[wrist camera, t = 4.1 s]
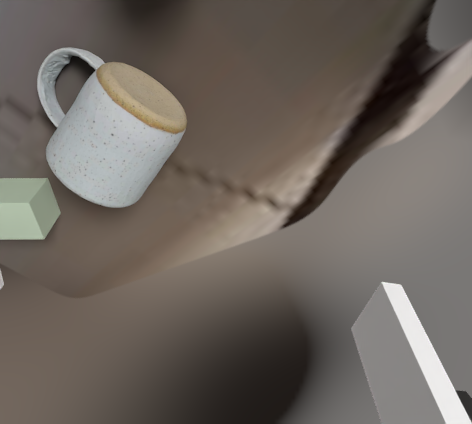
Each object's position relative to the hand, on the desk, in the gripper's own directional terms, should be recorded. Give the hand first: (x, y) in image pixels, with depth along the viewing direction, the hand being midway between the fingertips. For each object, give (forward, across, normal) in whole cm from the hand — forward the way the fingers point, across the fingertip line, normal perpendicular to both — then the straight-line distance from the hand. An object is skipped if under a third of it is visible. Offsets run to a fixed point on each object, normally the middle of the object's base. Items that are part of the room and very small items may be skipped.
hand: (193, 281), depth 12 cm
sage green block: (+20, -16, -13) cm, 29 cm away
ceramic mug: (+20, -8, -2) cm, 21 cm away
